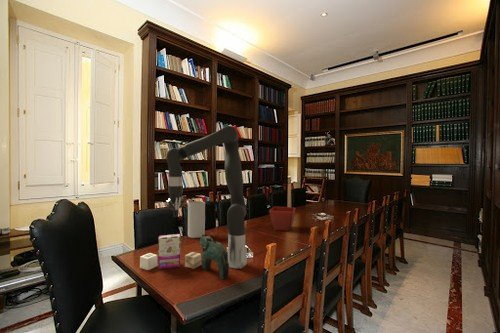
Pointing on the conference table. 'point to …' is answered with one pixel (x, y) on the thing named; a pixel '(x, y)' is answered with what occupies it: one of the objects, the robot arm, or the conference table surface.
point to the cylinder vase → (196, 219)
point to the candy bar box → (169, 251)
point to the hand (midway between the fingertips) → (175, 216)
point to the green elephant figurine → (214, 255)
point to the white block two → (148, 261)
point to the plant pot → (282, 217)
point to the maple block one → (192, 260)
